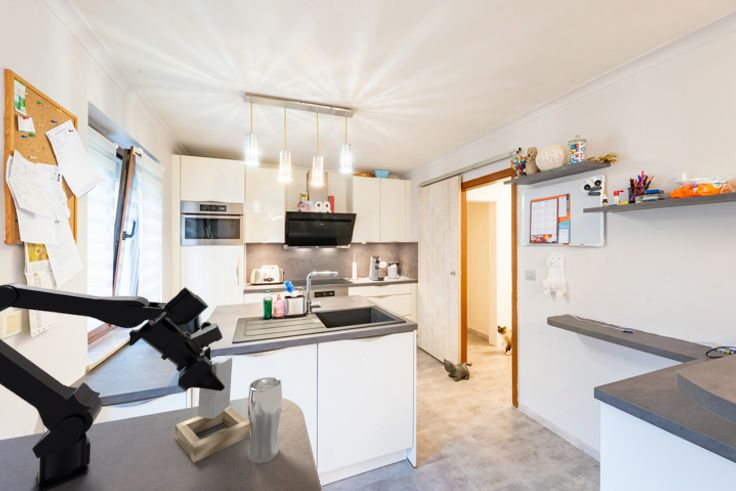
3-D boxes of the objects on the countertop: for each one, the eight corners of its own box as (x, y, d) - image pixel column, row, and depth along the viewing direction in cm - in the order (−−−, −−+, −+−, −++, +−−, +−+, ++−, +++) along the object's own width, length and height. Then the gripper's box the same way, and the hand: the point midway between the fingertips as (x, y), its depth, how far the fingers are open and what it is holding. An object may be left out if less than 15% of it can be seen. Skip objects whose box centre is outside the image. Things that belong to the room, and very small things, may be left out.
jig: (194, 462, 61) (194, 447, 61) (174, 437, 69) (175, 424, 69) (249, 435, 70) (250, 423, 70) (227, 416, 78) (227, 405, 78)
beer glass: (270, 467, 60) (272, 392, 60) (239, 462, 61) (241, 388, 62) (286, 445, 67) (288, 378, 67) (258, 441, 68) (260, 375, 68)
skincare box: (214, 404, 73) (217, 355, 74) (230, 406, 73) (233, 356, 73) (196, 417, 67) (199, 363, 68) (214, 420, 67) (217, 365, 67)
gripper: (200, 322, 61) (255, 368, 66) (200, 306, 77) (244, 344, 82) (151, 366, 57) (213, 412, 62) (162, 340, 73) (210, 378, 78)
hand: (222, 382), depth 71 cm, fingers closed on skincare box, 7 cm apart
